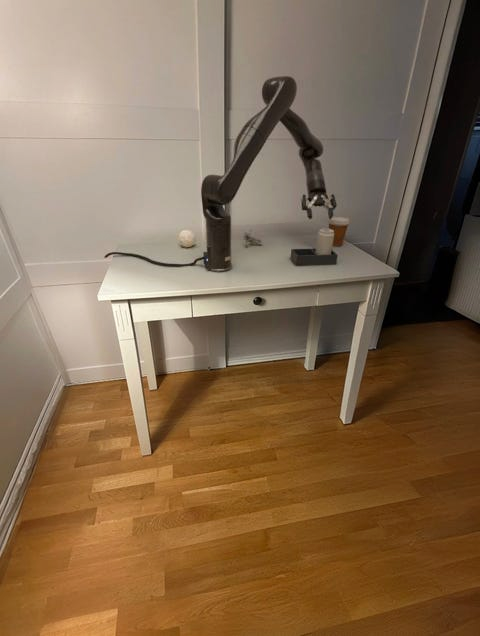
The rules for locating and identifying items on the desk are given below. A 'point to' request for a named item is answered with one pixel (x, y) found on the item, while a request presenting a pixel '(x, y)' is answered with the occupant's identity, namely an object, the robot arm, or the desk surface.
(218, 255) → the robot arm
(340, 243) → the disposable coffee cup
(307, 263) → the divided tray
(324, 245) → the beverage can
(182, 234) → the geometric ball
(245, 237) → the elephant figurine
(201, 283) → the desk surface
